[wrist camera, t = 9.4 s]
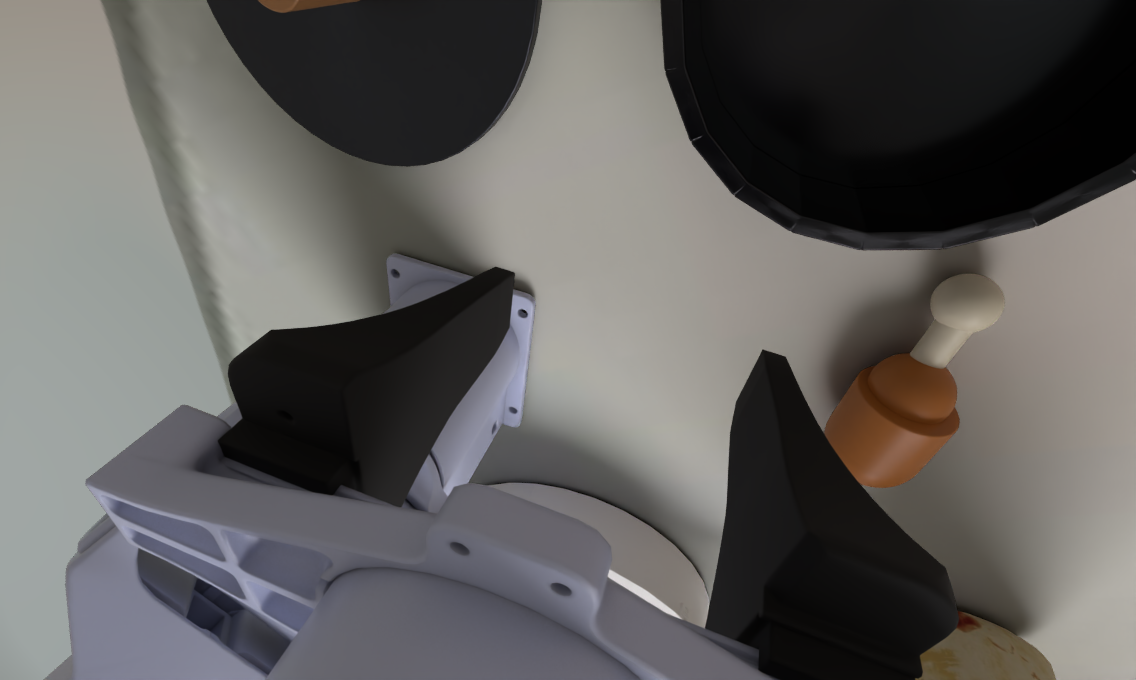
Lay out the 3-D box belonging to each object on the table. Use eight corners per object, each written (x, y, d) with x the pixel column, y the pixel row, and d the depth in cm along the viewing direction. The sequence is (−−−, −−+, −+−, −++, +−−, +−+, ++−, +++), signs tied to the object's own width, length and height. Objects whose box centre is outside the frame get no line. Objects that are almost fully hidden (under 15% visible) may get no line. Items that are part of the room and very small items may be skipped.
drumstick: (892, 452, 25) (903, 519, 22) (809, 424, 25) (809, 485, 22) (1036, 280, 19) (1077, 342, 16) (921, 249, 19) (941, 303, 16)
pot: (458, 614, 52) (433, 665, 48) (358, 452, 40) (315, 505, 36) (773, 686, 41) (772, 760, 37) (767, 493, 29) (764, 574, 25)
